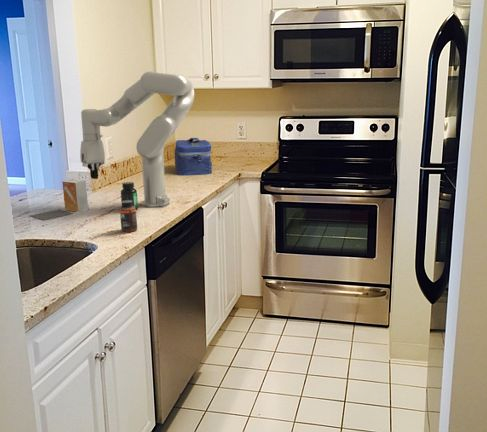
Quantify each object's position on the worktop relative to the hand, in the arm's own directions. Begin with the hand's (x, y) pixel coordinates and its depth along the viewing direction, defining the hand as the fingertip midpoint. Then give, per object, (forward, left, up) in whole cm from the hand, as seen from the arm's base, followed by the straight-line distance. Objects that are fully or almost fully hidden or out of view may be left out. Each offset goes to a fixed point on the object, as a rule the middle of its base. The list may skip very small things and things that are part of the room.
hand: (94, 178), depth 251 cm
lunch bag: (+31, -87, -13) cm, 93 cm away
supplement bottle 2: (-47, +17, -13) cm, 52 cm away
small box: (0, +11, -13) cm, 16 cm away
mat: (0, +23, -12) cm, 26 cm away
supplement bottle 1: (-20, -3, -13) cm, 24 cm away
